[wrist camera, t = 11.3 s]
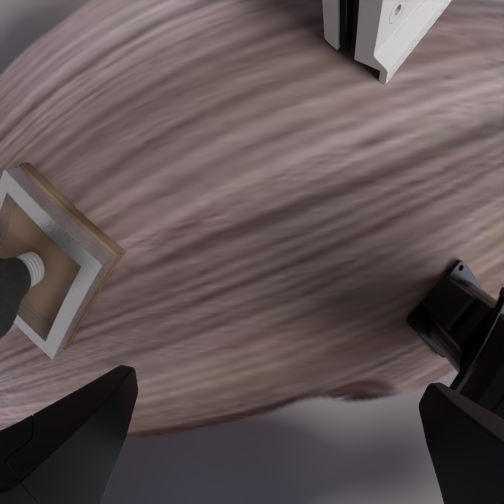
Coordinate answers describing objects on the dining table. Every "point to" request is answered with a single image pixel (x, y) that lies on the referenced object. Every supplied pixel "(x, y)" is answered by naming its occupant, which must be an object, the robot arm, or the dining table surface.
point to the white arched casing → (380, 29)
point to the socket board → (52, 255)
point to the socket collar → (67, 238)
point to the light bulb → (16, 285)
